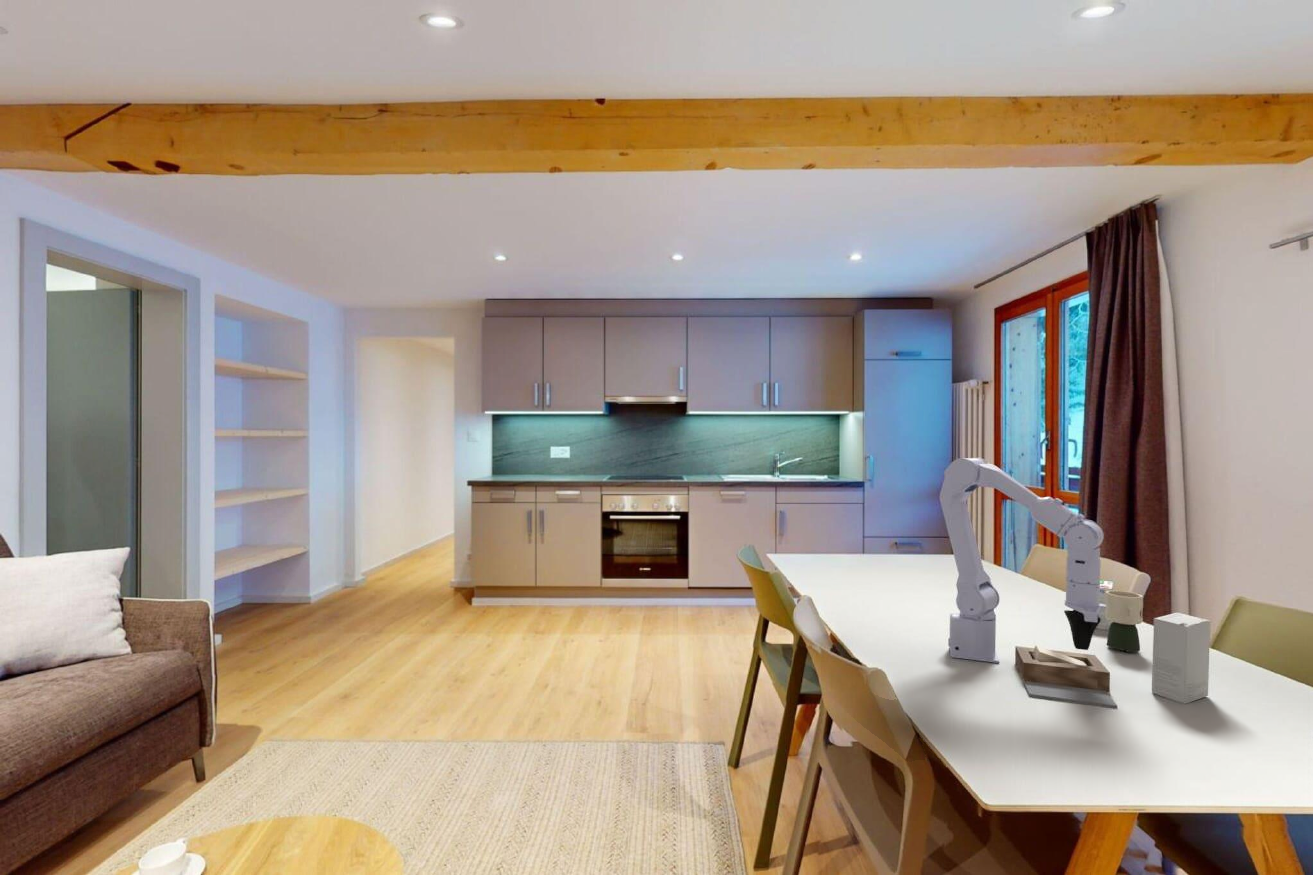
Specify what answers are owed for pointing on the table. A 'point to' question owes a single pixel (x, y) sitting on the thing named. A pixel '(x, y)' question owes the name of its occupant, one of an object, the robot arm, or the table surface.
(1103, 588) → the light bulb box
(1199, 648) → the skincare box
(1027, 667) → the walnut board
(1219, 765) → the table surface
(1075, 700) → the slate mat
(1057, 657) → the birch bar
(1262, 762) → the table surface
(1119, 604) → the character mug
